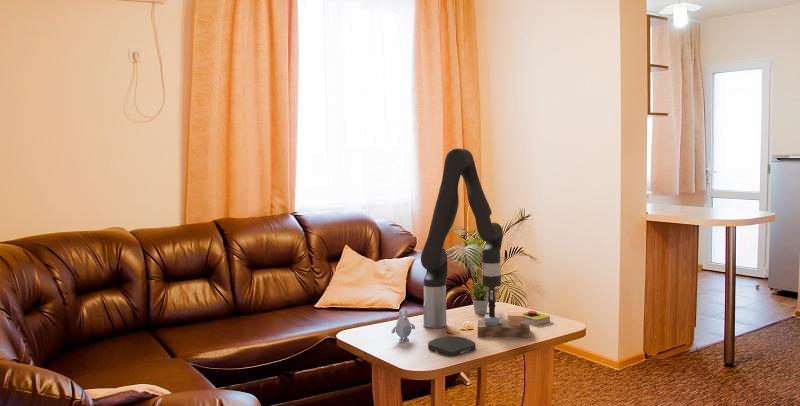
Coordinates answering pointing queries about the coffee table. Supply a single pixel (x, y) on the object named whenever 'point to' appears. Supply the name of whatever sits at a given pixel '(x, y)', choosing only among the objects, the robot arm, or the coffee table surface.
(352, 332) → the coffee table surface
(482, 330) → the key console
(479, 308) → the house plant
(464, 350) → the media streaming box
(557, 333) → the coffee table surface
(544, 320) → the emergency button
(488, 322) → the slate-blue key
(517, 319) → the terracotta key
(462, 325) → the coffee table surface
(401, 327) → the toy figure
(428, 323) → the robot arm
